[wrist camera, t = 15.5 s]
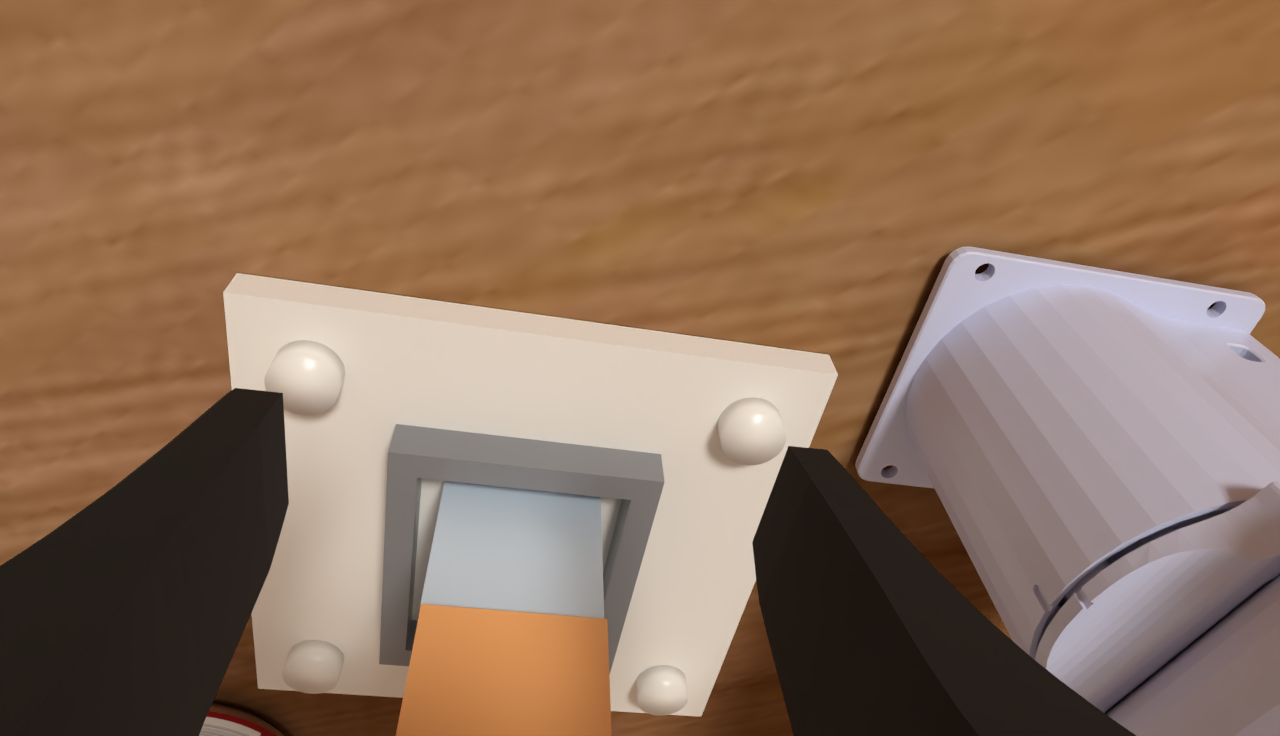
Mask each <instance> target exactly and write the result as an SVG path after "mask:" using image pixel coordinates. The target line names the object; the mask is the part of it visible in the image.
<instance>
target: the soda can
mask: <svg viewBox="0 0 1280 736" xmlns="http://www.w3.org/2000/svg"><path fill="white" fill-rule="evenodd" d="M199 736H284V735H283V734H282V733H281V732H280V731H278V730H277V729H276V728H274V727H273V726H271V725H270V724H268V723H266V722H265V721H263V720H261V719H260V718H258V717H257V716H255V715H253V714H251V713H249V712H246V711H244V710H241V709H238V708H235V707H231V706H227V705H222V704H216V703H212V705H211V707H210V709H209V712H208V714H207V716H206V719H205V721H204V724H203V726H202V729H201V732H200V734H199Z"/></svg>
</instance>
